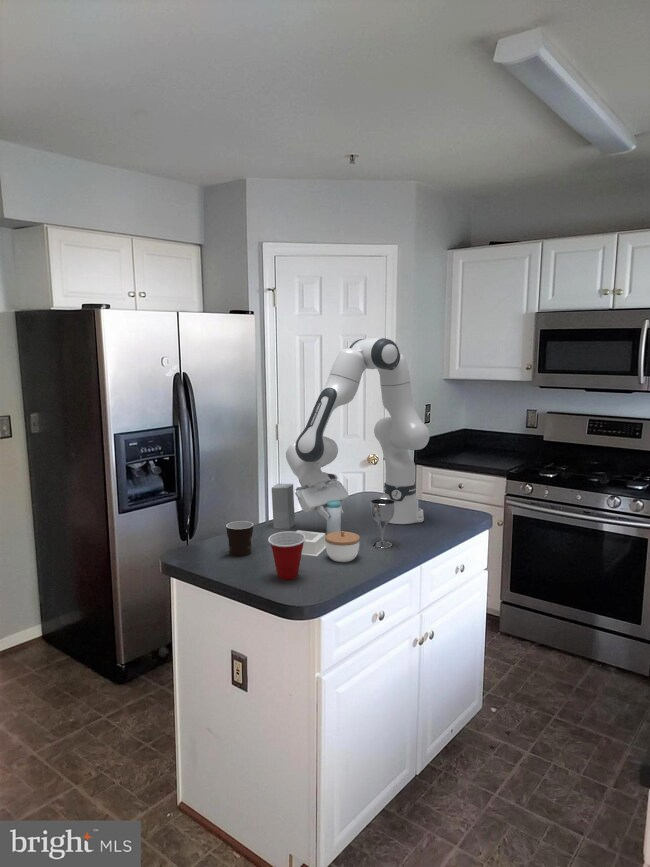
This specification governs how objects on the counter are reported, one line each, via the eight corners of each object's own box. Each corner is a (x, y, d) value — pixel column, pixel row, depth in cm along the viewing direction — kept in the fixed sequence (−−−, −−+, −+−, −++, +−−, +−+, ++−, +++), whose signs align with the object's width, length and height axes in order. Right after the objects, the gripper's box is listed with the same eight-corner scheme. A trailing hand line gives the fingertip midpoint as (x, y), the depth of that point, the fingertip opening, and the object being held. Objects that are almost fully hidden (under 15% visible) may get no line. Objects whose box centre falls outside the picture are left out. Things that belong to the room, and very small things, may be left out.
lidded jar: (351, 553, 196) (351, 524, 195) (365, 564, 186) (365, 534, 185) (320, 556, 192) (320, 528, 191) (332, 568, 182) (332, 538, 181)
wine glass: (377, 539, 210) (378, 497, 207) (398, 543, 205) (399, 500, 203) (365, 545, 203) (366, 501, 201) (386, 550, 199) (387, 505, 196)
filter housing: (295, 542, 206) (295, 529, 205) (329, 546, 202) (329, 532, 201) (281, 554, 195) (281, 539, 194) (317, 558, 191) (317, 543, 190)
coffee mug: (246, 561, 188) (245, 530, 186) (221, 558, 191) (220, 527, 189) (262, 549, 199) (262, 520, 197) (239, 546, 202) (238, 517, 200)
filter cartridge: (329, 533, 210) (329, 499, 208) (342, 534, 209) (342, 500, 207) (324, 537, 206) (324, 503, 204) (338, 538, 204) (338, 504, 202)
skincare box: (290, 531, 219) (289, 488, 216) (270, 529, 220) (270, 487, 218) (295, 524, 227) (295, 482, 224) (277, 523, 228) (277, 482, 226)
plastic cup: (261, 580, 173) (261, 539, 171) (279, 567, 183) (279, 529, 181) (295, 586, 169) (295, 545, 167) (312, 573, 179) (312, 533, 177)
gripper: (297, 483, 202) (318, 517, 197) (339, 473, 216) (359, 505, 211) (288, 493, 206) (308, 527, 200) (330, 484, 220) (350, 515, 215)
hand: (335, 516), depth 206 cm, fingers closed on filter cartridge, 5 cm apart
